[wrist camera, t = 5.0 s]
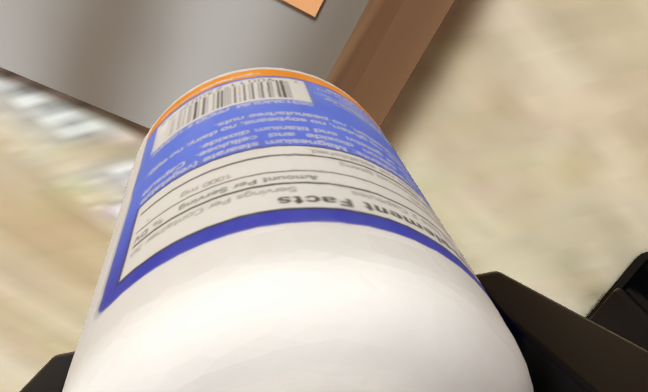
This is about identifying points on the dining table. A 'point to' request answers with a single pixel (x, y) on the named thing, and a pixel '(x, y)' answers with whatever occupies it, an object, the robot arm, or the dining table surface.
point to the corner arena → (213, 46)
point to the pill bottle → (284, 259)
